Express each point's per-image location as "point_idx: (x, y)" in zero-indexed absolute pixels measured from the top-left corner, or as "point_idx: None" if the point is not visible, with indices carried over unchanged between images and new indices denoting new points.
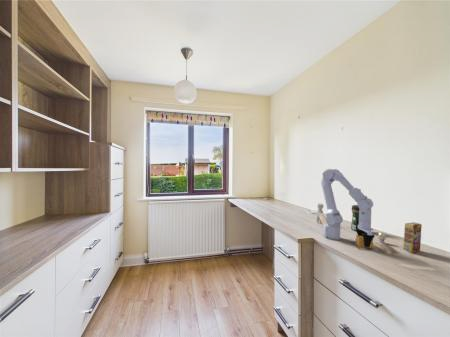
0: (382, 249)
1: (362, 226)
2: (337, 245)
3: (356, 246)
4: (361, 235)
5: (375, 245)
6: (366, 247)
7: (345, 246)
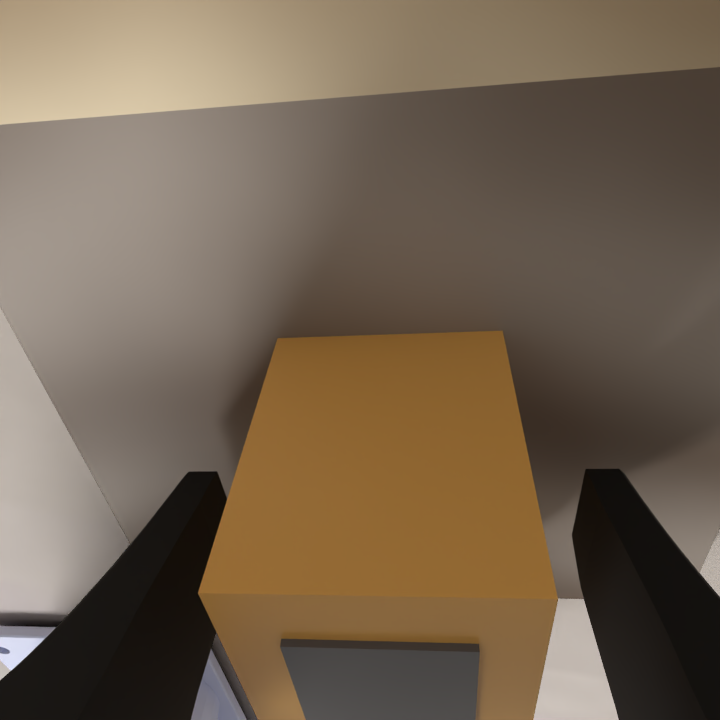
0: (573, 43)
1: None
2: None
3: None
4: (160, 707)
5: (150, 149)
6: None
7: None
